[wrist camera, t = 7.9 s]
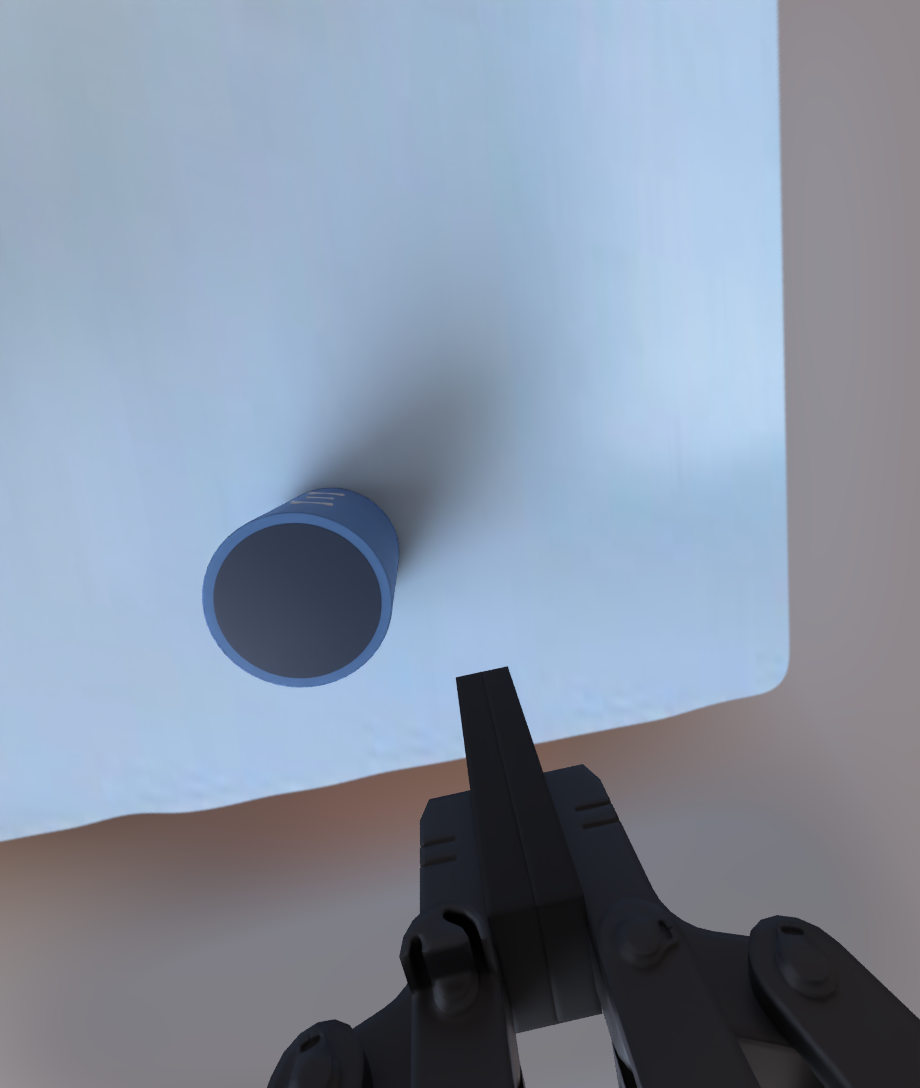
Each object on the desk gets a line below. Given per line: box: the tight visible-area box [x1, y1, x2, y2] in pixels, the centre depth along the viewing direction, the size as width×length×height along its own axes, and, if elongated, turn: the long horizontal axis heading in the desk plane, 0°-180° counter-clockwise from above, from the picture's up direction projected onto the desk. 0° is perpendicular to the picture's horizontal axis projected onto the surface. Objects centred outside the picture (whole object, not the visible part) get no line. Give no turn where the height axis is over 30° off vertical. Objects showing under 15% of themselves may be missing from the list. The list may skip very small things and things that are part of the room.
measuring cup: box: [202, 488, 399, 687], centre depth 26 cm, size 10×8×8 cm
